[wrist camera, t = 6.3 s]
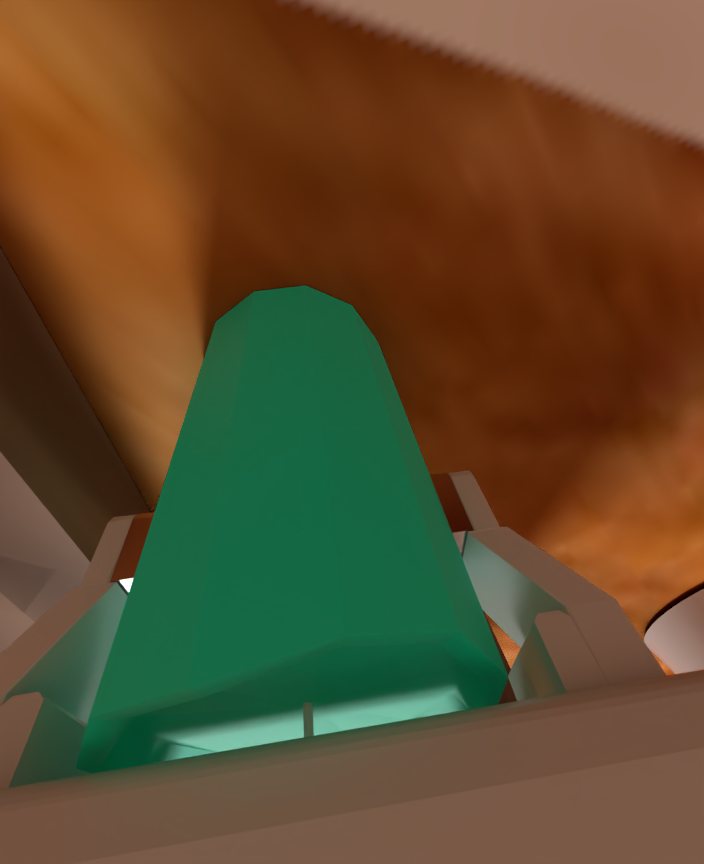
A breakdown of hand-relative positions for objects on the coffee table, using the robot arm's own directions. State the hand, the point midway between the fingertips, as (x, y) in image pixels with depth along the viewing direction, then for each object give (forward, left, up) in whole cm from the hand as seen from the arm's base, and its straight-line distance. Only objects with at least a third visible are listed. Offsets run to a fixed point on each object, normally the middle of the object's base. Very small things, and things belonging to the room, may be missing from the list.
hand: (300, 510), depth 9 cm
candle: (0, 0, -6) cm, 6 cm away
